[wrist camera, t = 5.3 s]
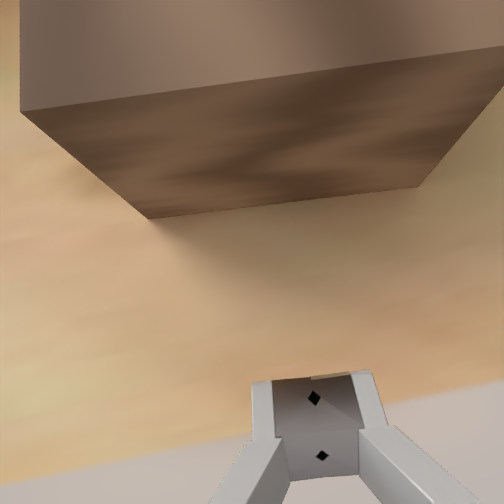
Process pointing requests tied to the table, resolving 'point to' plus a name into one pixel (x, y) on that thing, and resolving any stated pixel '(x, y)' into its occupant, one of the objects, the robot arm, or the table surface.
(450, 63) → the walnut block
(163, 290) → the table surface
